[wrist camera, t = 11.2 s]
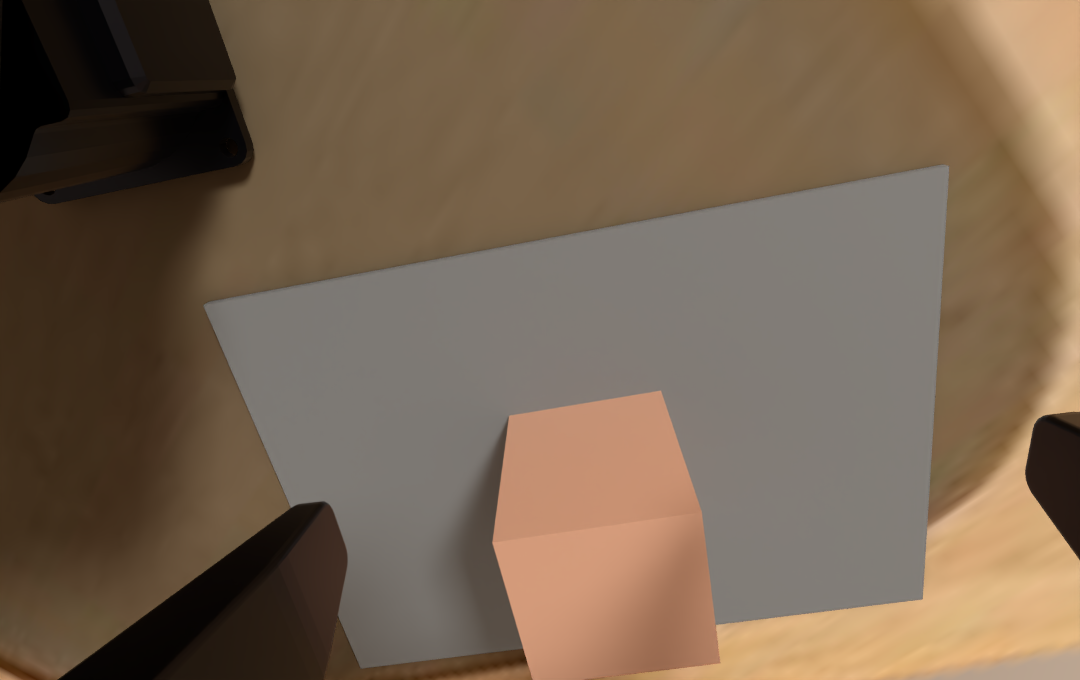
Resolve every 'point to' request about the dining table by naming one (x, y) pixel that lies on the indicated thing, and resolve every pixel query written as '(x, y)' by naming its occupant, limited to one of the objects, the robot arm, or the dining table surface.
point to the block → (603, 542)
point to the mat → (611, 372)
